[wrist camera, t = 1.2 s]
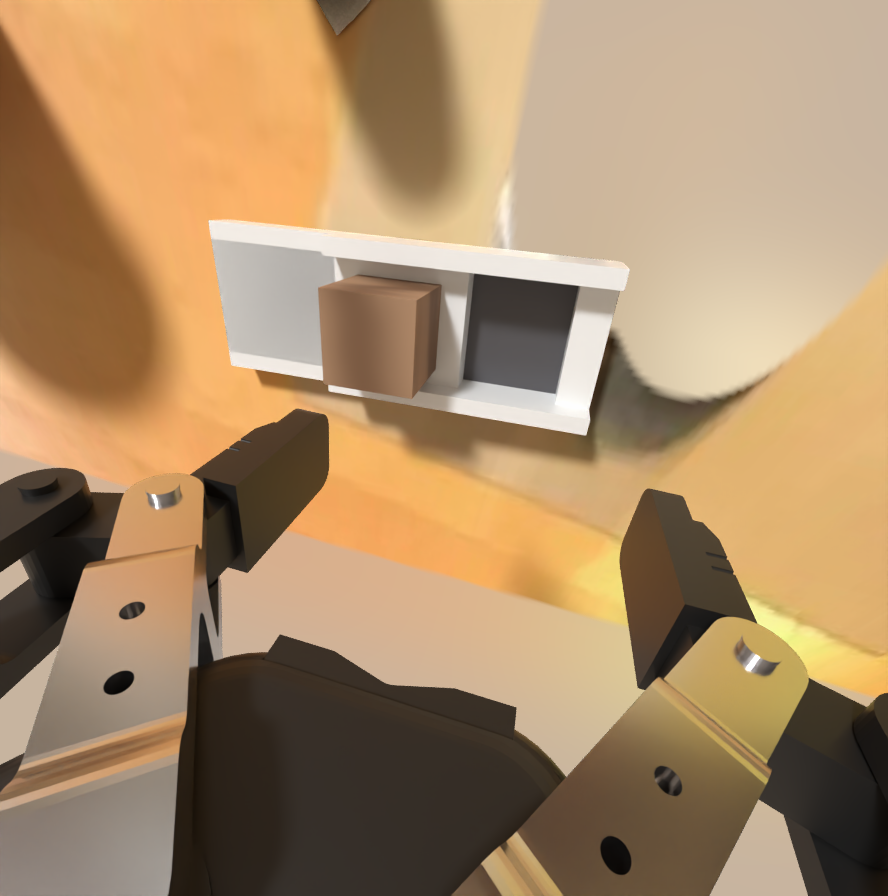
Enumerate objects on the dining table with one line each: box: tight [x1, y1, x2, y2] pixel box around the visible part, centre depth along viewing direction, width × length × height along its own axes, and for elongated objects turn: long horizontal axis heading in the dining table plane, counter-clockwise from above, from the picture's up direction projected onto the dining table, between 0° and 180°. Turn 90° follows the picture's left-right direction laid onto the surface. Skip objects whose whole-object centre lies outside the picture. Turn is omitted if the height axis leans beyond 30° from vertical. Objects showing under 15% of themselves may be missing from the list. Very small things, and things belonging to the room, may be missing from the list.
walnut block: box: [318, 274, 442, 399], centre depth 25 cm, size 5×5×5 cm
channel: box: [208, 219, 630, 435], centre depth 27 cm, size 24×9×4 cm, turn 85°
